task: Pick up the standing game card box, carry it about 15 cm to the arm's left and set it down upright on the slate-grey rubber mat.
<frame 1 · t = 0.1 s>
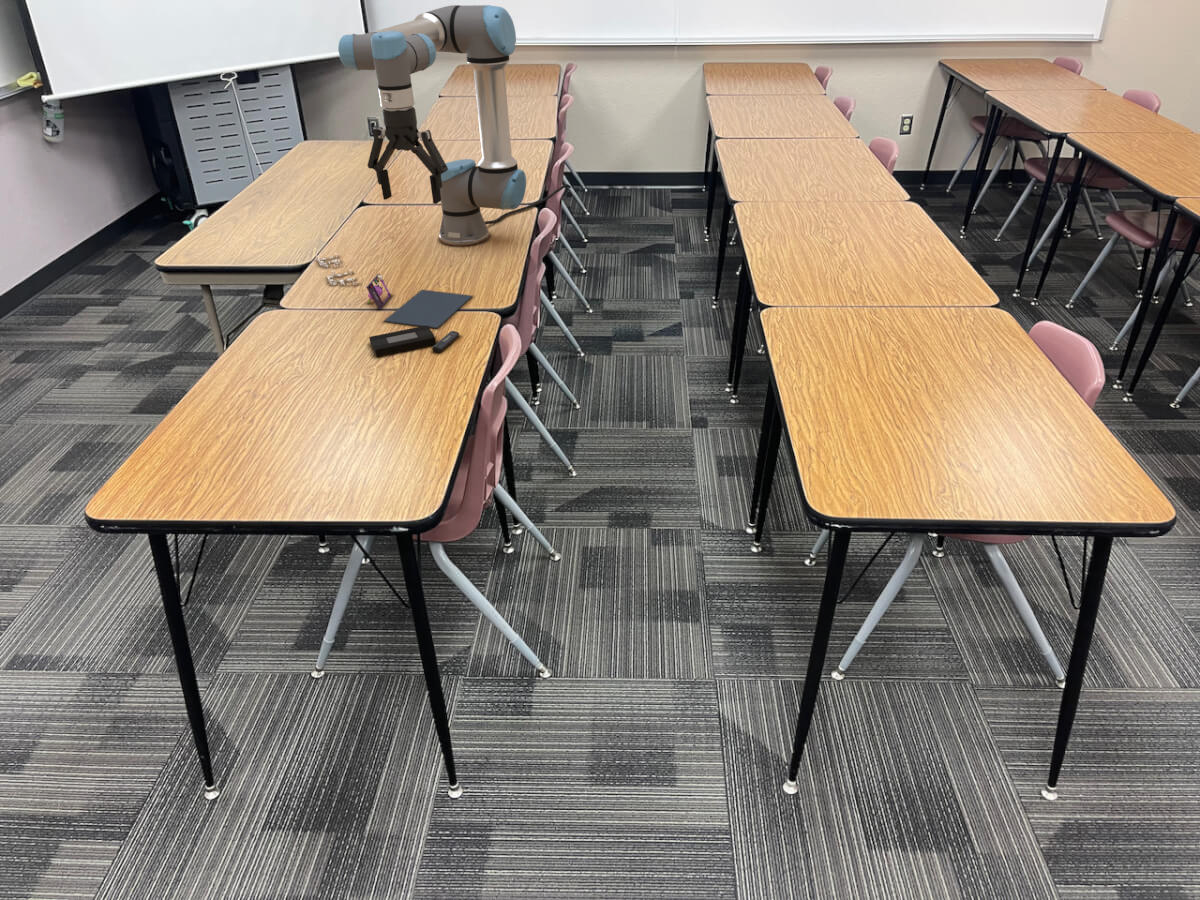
hand: (412, 200, 198), 28 cm above the table, tool pointing down, fingers open, 13 cm apart
mat: (429, 309, 212), on the table
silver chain: (336, 272, 235), on the table
game card: (377, 303, 217), on the table
usb stick: (446, 345, 196), on the table
vhs tape: (403, 345, 196), on the table
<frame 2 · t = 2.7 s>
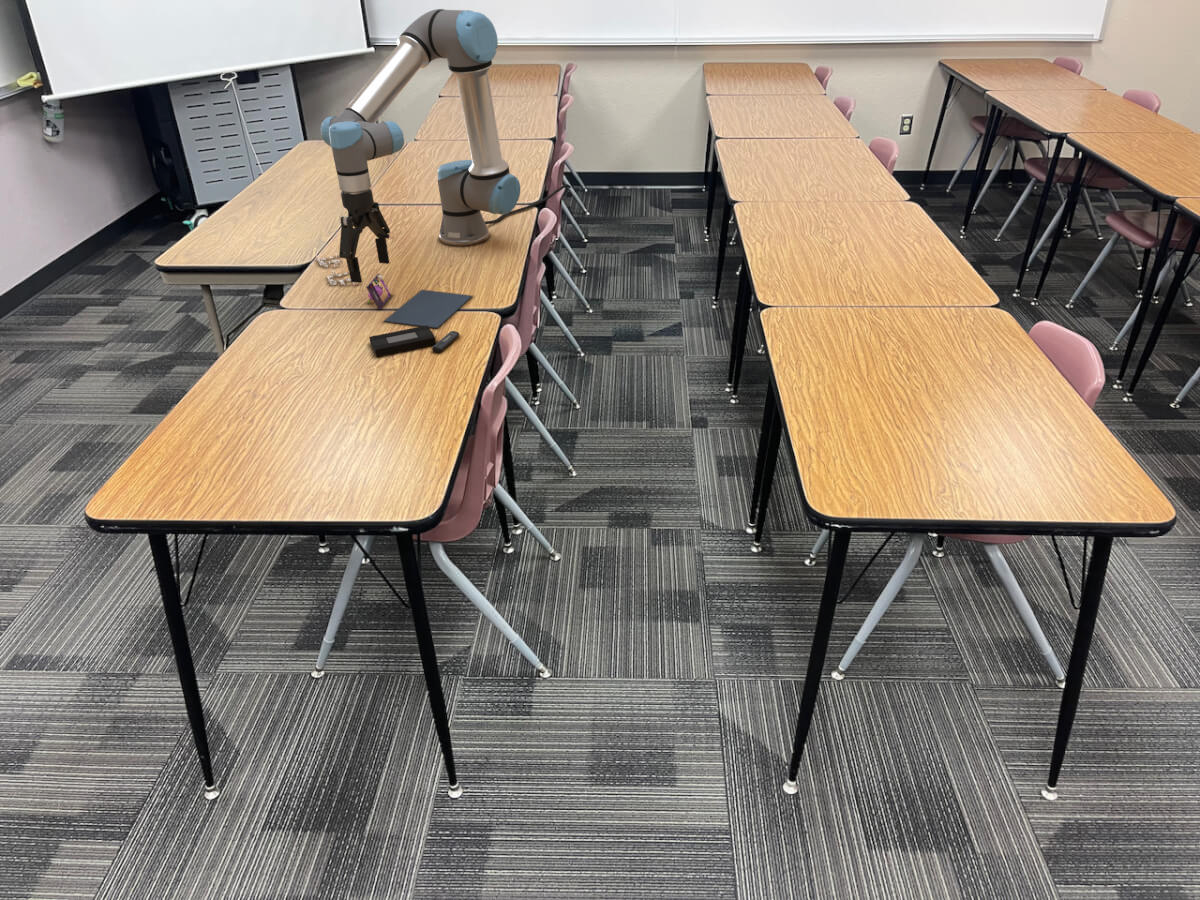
hand: (370, 272, 212), 9 cm above the table, tool pointing down, fingers open, 13 cm apart
nothing on the table moved.
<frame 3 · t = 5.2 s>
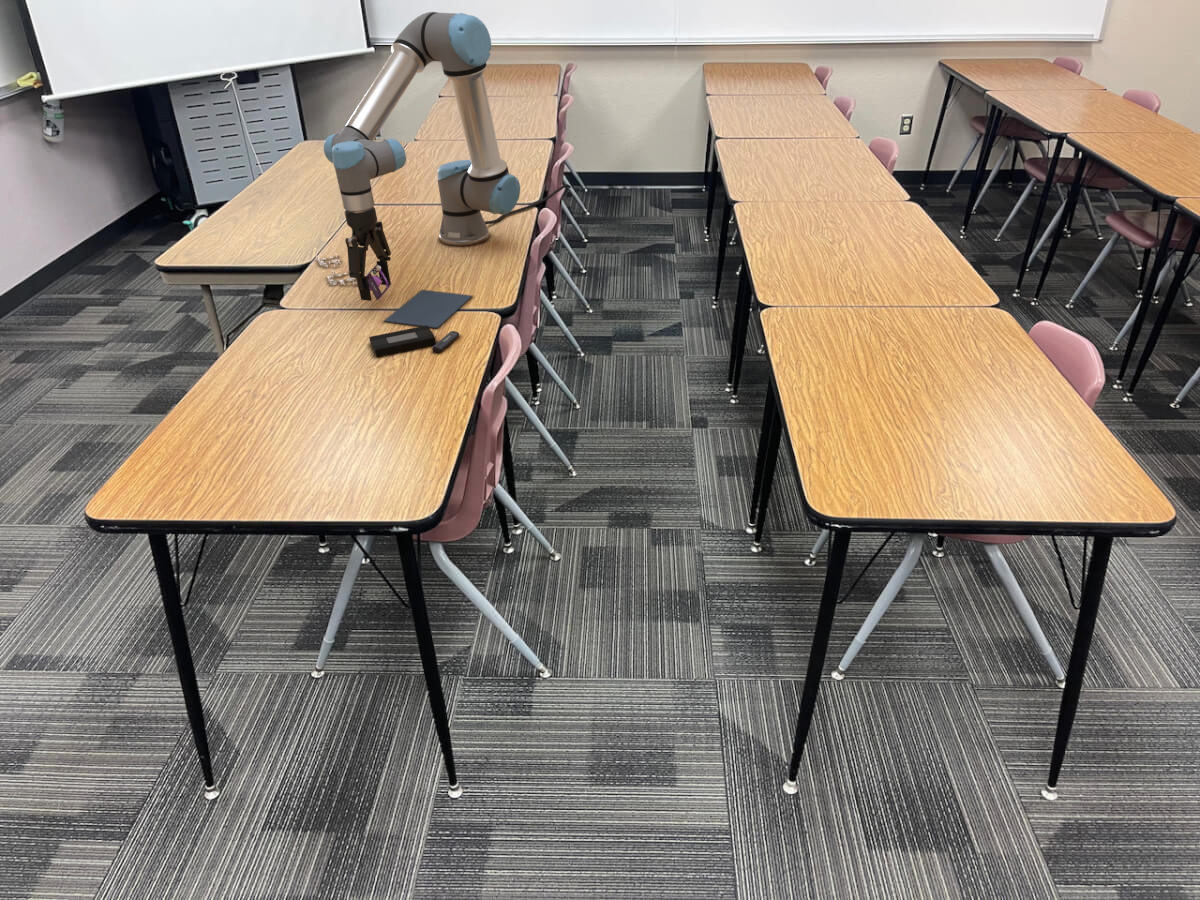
hand: (376, 292, 215), 3 cm above the table, tool pointing down, fingers closed on game card, 9 cm apart
game card: (376, 293, 215), point 2 cm above the table, touching gripper
everything else where it was.
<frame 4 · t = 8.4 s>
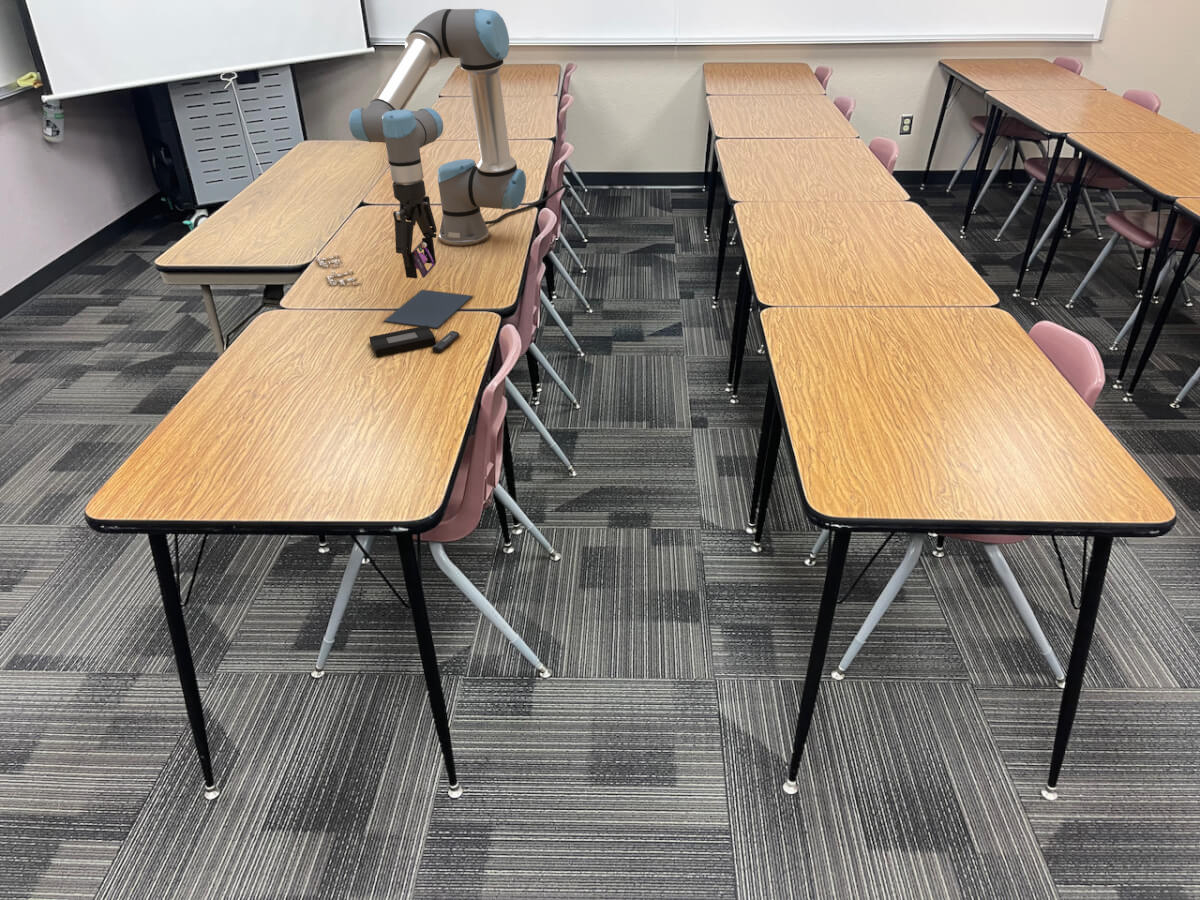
hand: (421, 270, 206), 11 cm above the table, tool pointing down, fingers closed on game card, 9 cm apart
game card: (421, 271, 207), point 10 cm above the table, touching gripper
everything else where it was.
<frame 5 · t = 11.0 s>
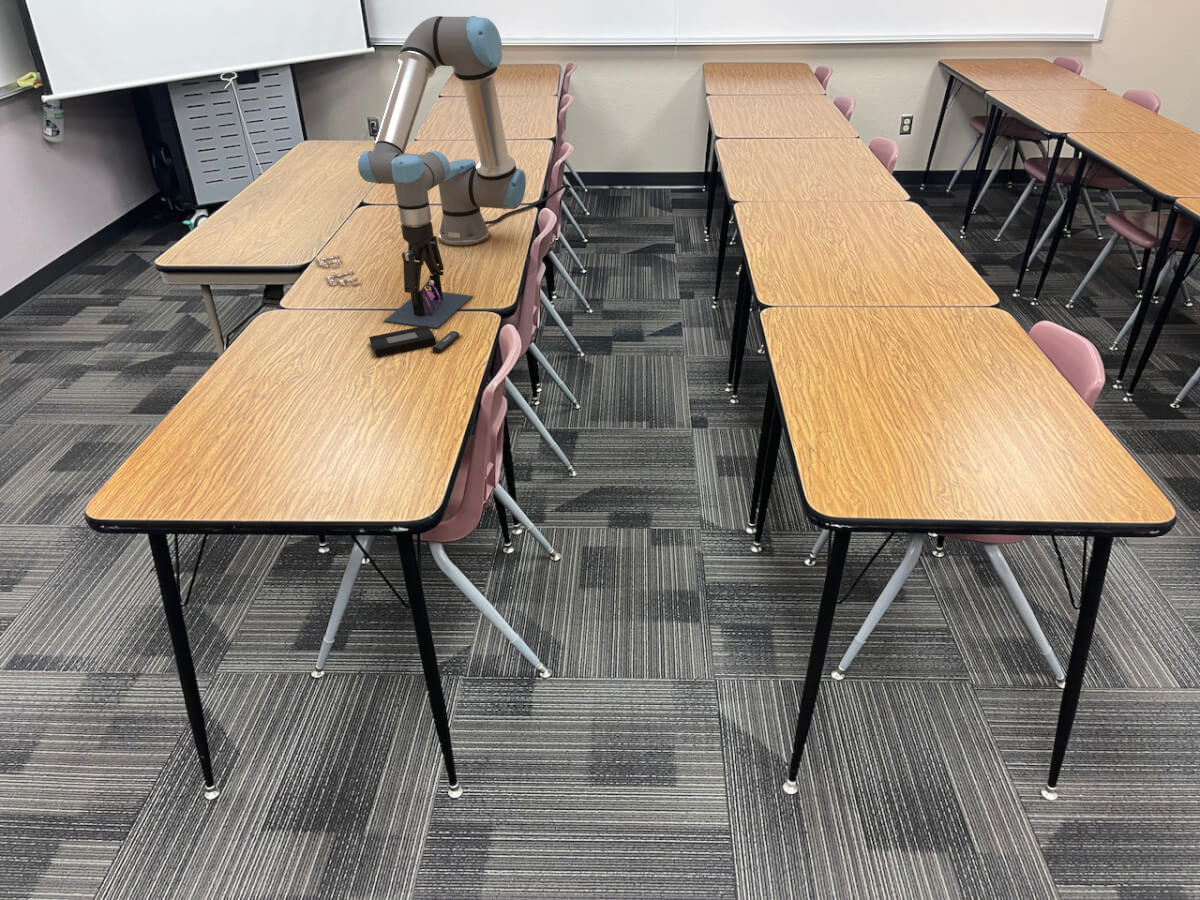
hand: (428, 306, 212), 1 cm above the table, tool pointing down, fingers closed on game card, 9 cm apart
game card: (428, 308, 212), resting on mat, touching gripper
everything else where it was.
when the fingers open (1 cm above the table, at t = 11.5 s): game card stays where it is, resting on mat.
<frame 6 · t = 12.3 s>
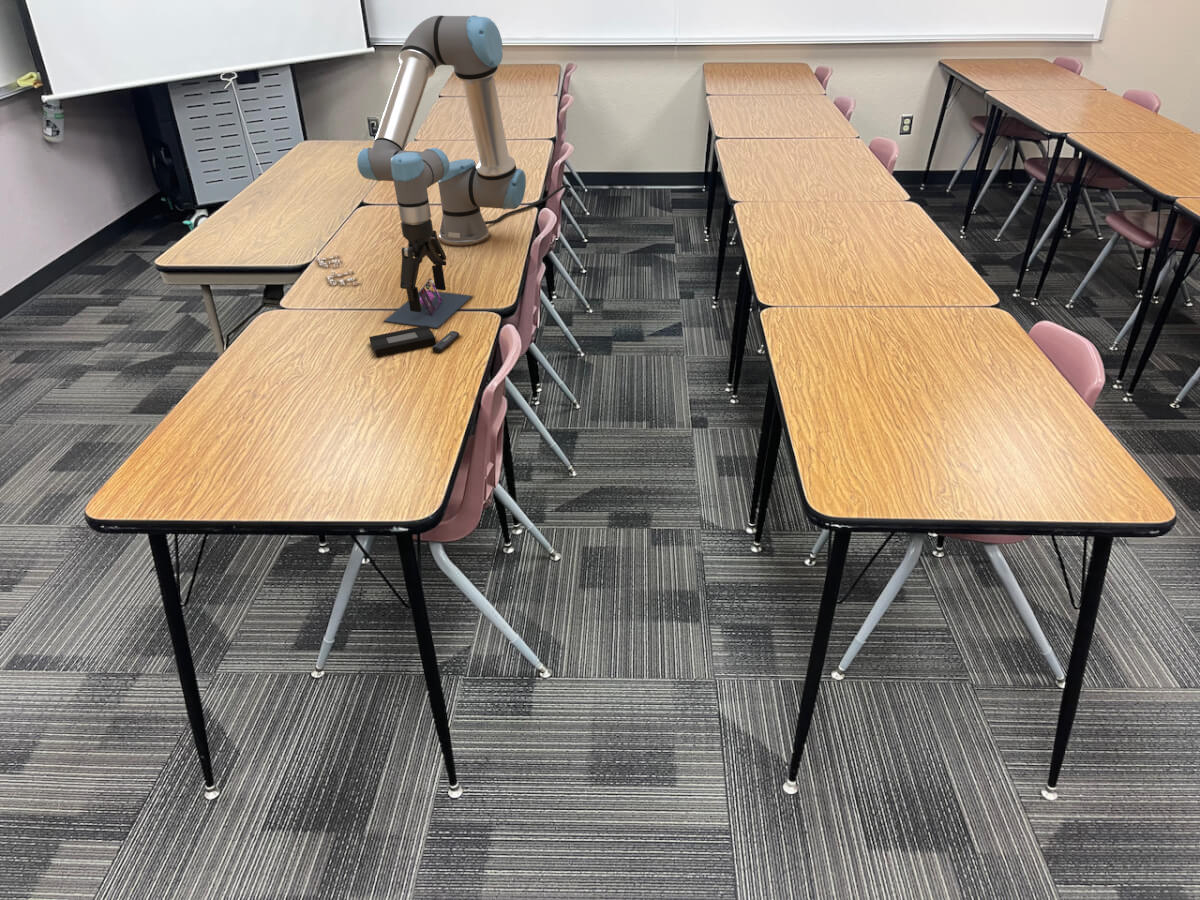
hand: (428, 300, 211), 2 cm above the table, tool pointing down, fingers open, 13 cm apart
game card: (428, 308, 212), resting on mat
everything else where it was.
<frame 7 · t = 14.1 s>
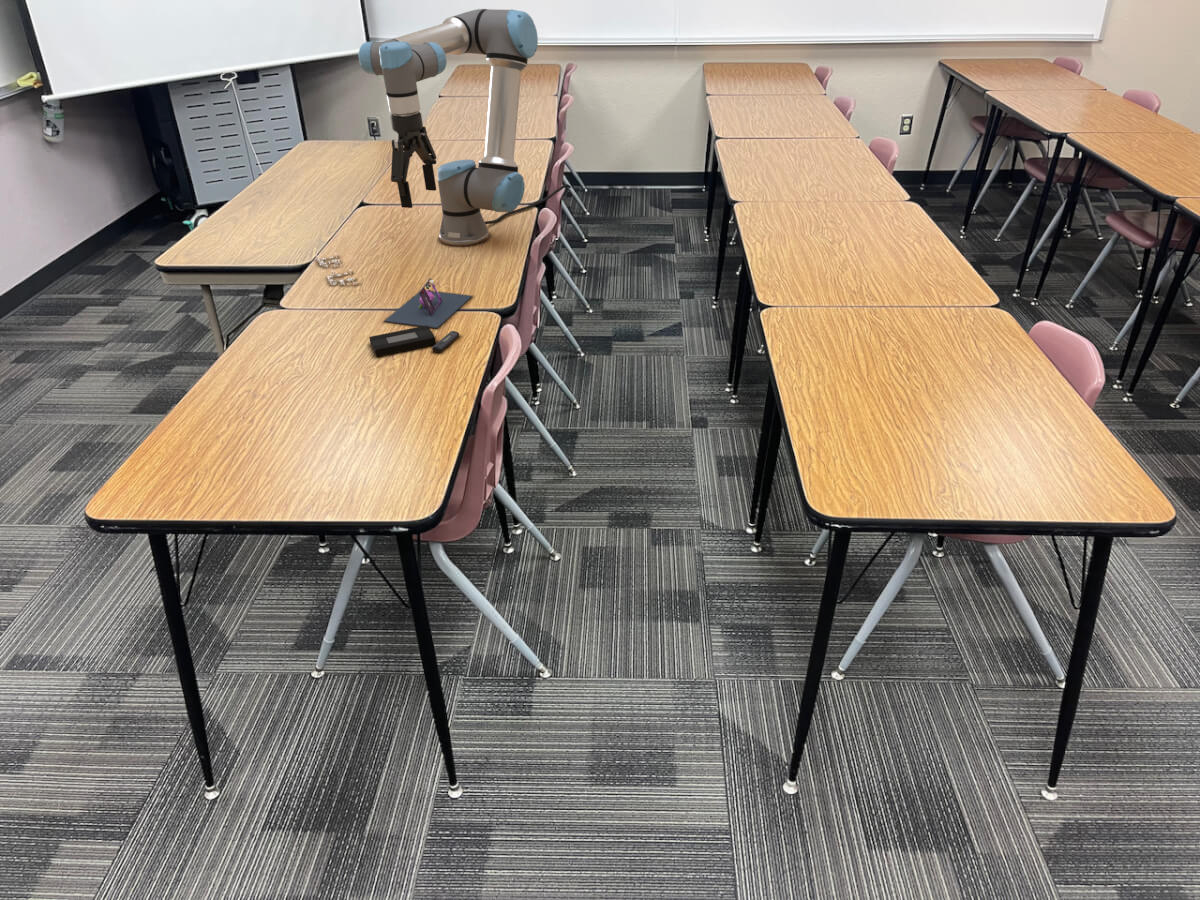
hand: (419, 198, 212), 24 cm above the table, tool pointing down, fingers open, 13 cm apart
nothing on the table moved.
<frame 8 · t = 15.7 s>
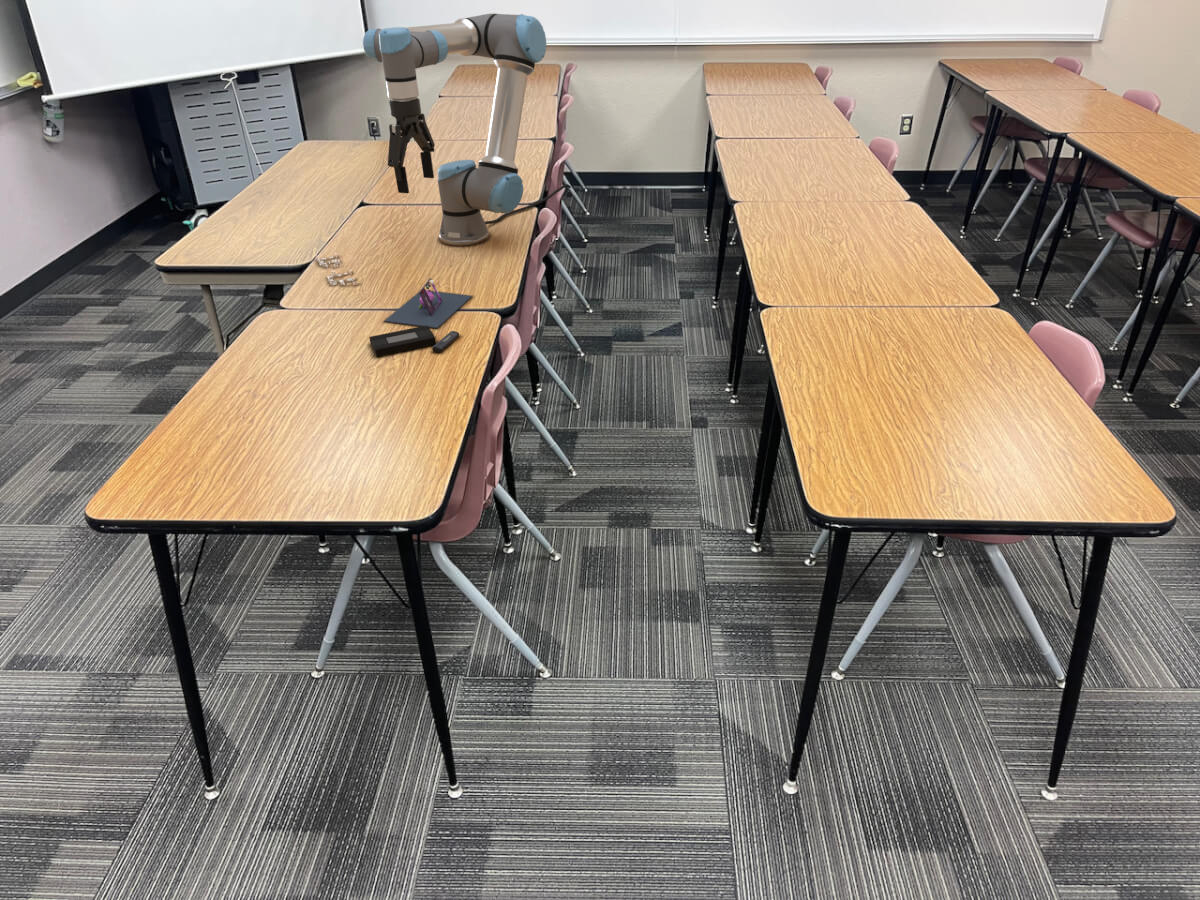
hand: (416, 185, 213), 27 cm above the table, tool pointing down, fingers open, 13 cm apart
nothing on the table moved.
at the end: game card inside the target area on the mat (0.3 cm from its centre), point 0.2 cm above the mat's base; game card moved 15.5 cm from its start; game card tilted 1° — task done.
